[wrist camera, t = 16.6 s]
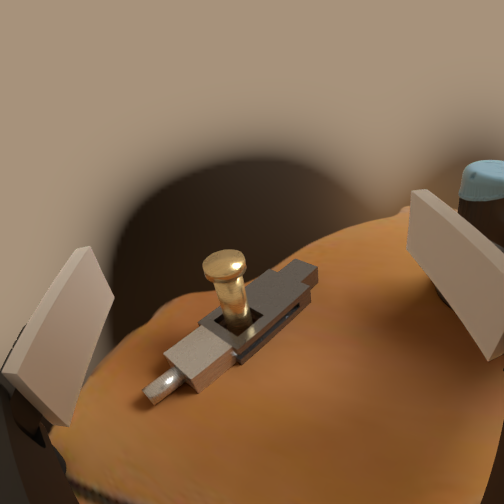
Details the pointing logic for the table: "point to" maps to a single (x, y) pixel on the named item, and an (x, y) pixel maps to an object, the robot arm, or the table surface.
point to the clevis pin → (230, 288)
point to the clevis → (229, 345)
